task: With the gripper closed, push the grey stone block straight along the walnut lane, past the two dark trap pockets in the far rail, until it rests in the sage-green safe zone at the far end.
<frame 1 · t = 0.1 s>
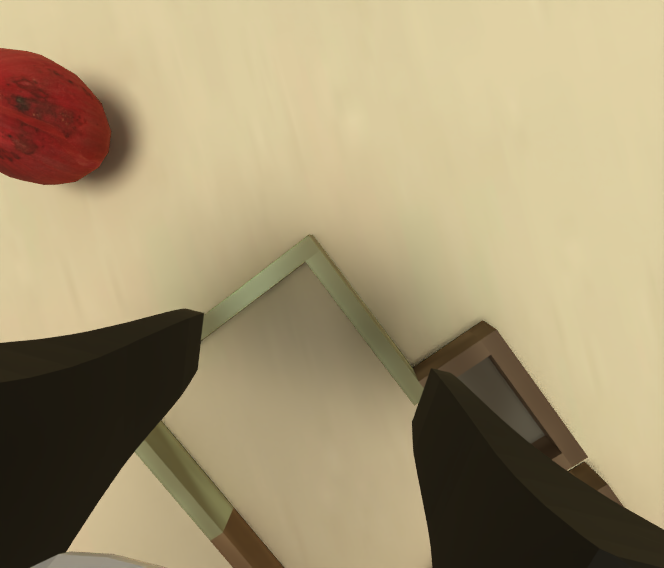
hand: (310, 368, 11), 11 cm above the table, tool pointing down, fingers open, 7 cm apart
lane: (391, 543, 24), on the table
onion: (94, 142, 21), on the table
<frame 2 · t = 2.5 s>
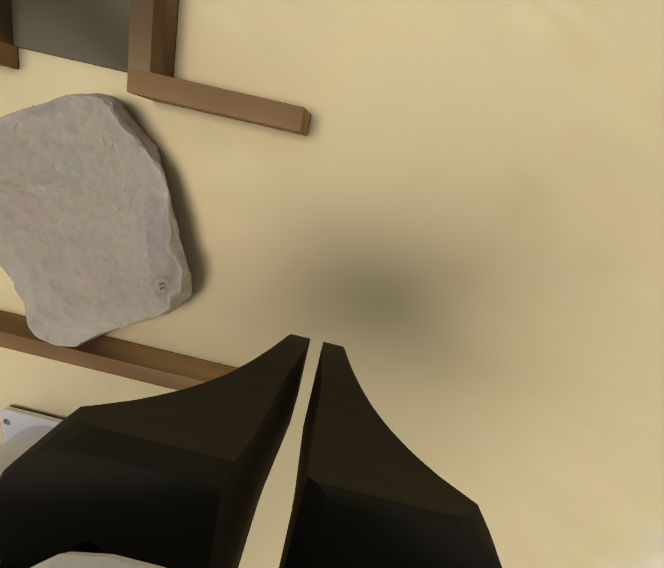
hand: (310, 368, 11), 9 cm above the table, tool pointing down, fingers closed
stone block: (116, 219, 21), on the table
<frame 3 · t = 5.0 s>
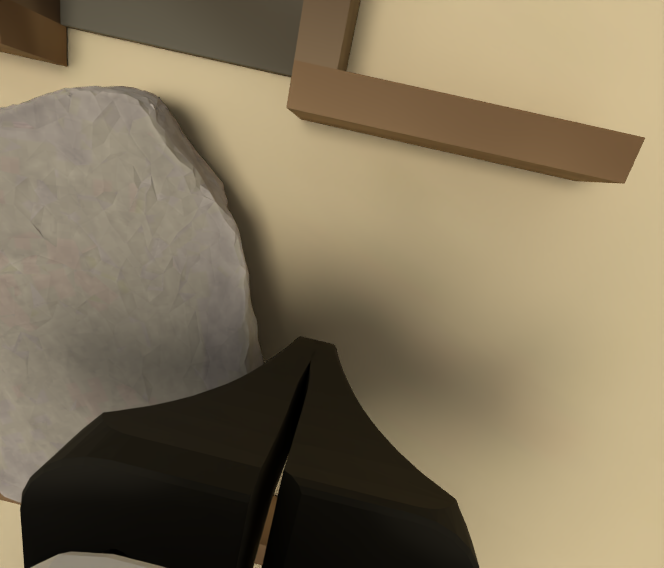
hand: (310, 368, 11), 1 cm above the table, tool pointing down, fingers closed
stone block: (142, 290, 13), on the table
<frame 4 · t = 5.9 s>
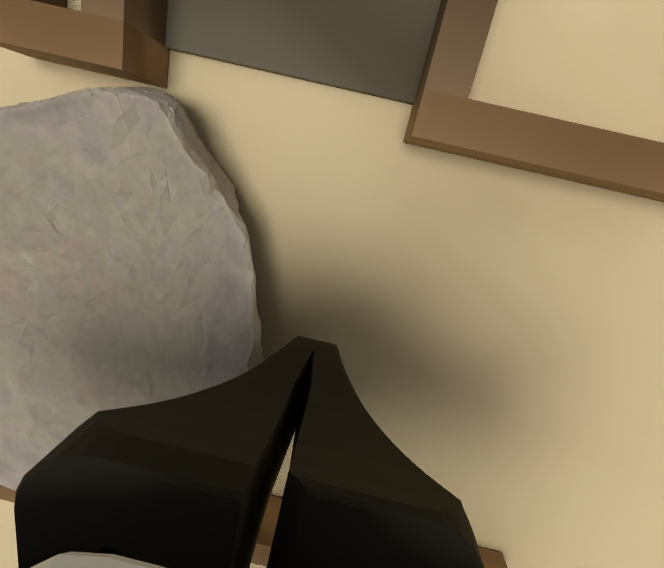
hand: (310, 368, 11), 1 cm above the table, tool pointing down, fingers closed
stone block: (147, 286, 13), on the table, touching gripper
lane: (69, 287, 13), on the table
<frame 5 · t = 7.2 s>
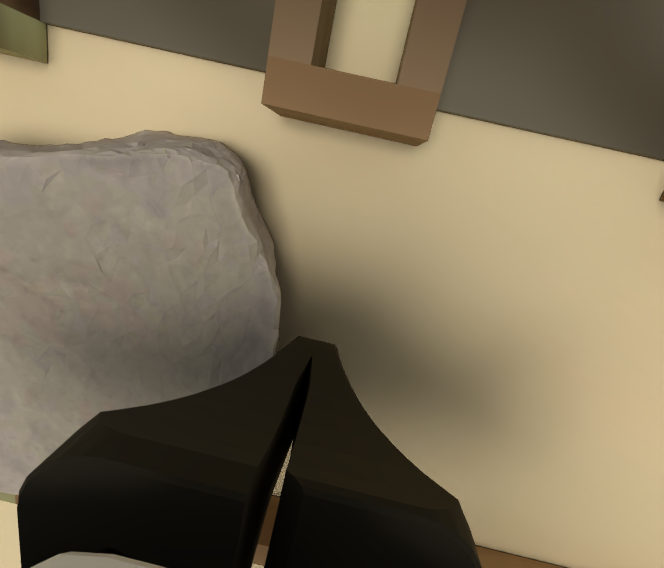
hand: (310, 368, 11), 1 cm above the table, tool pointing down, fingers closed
stone block: (162, 308, 13), on the table, touching gripper
lane: (275, 338, 13), on the table
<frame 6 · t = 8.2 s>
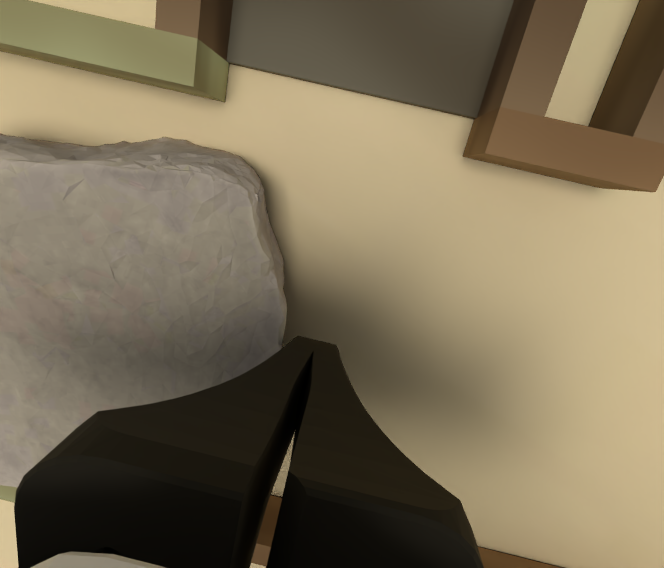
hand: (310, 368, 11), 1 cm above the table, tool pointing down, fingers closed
stone block: (165, 311, 13), on the table
lane: (425, 373, 12), on the table
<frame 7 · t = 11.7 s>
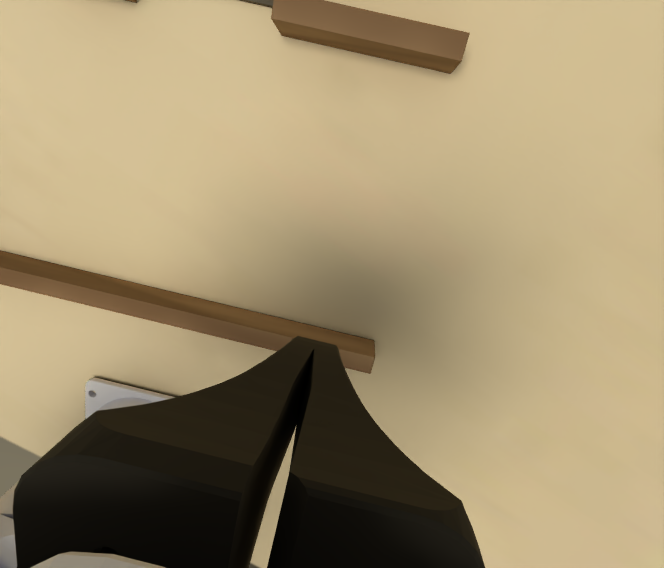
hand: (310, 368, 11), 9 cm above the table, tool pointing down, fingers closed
lane: (75, 144, 19), on the table
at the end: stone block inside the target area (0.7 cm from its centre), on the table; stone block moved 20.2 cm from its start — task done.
